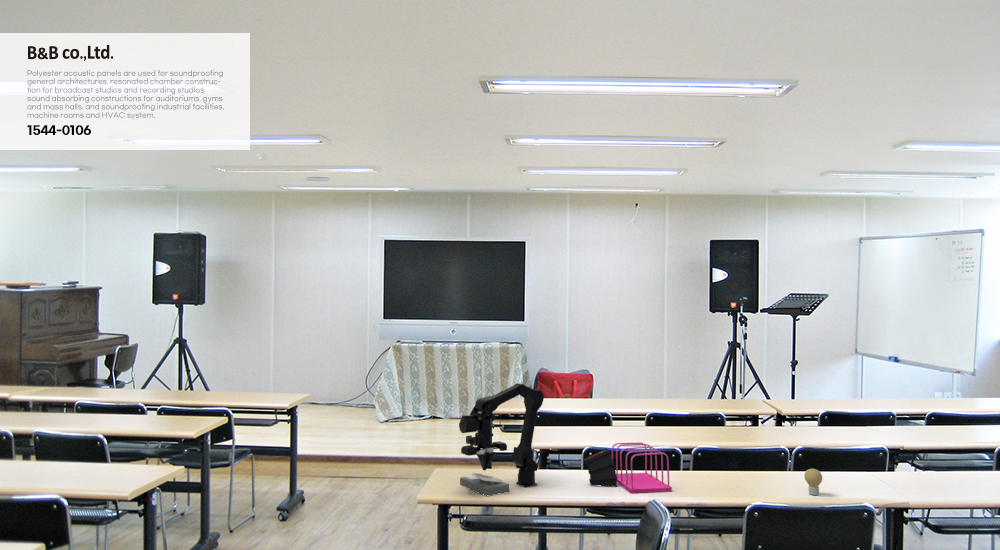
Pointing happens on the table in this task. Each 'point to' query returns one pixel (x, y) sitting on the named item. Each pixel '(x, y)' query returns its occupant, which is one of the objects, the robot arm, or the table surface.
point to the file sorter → (641, 480)
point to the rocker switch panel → (484, 485)
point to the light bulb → (813, 480)
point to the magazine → (601, 469)
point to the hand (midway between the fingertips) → (484, 470)
